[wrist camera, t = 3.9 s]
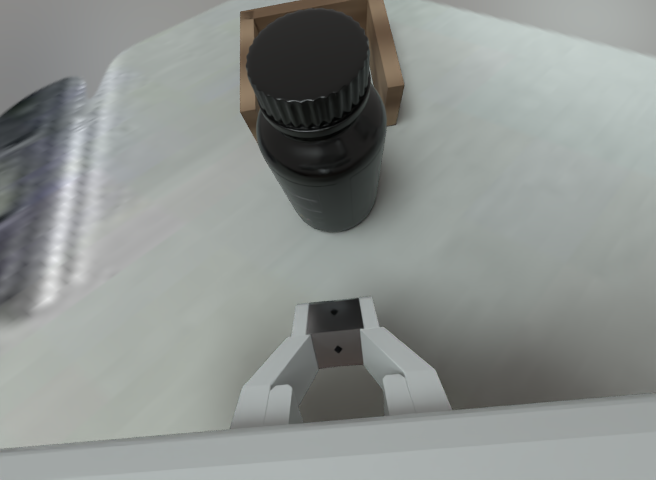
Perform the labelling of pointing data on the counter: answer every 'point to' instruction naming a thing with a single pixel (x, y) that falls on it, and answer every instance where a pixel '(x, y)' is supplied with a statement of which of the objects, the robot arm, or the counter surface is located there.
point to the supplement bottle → (319, 115)
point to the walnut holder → (364, 8)
